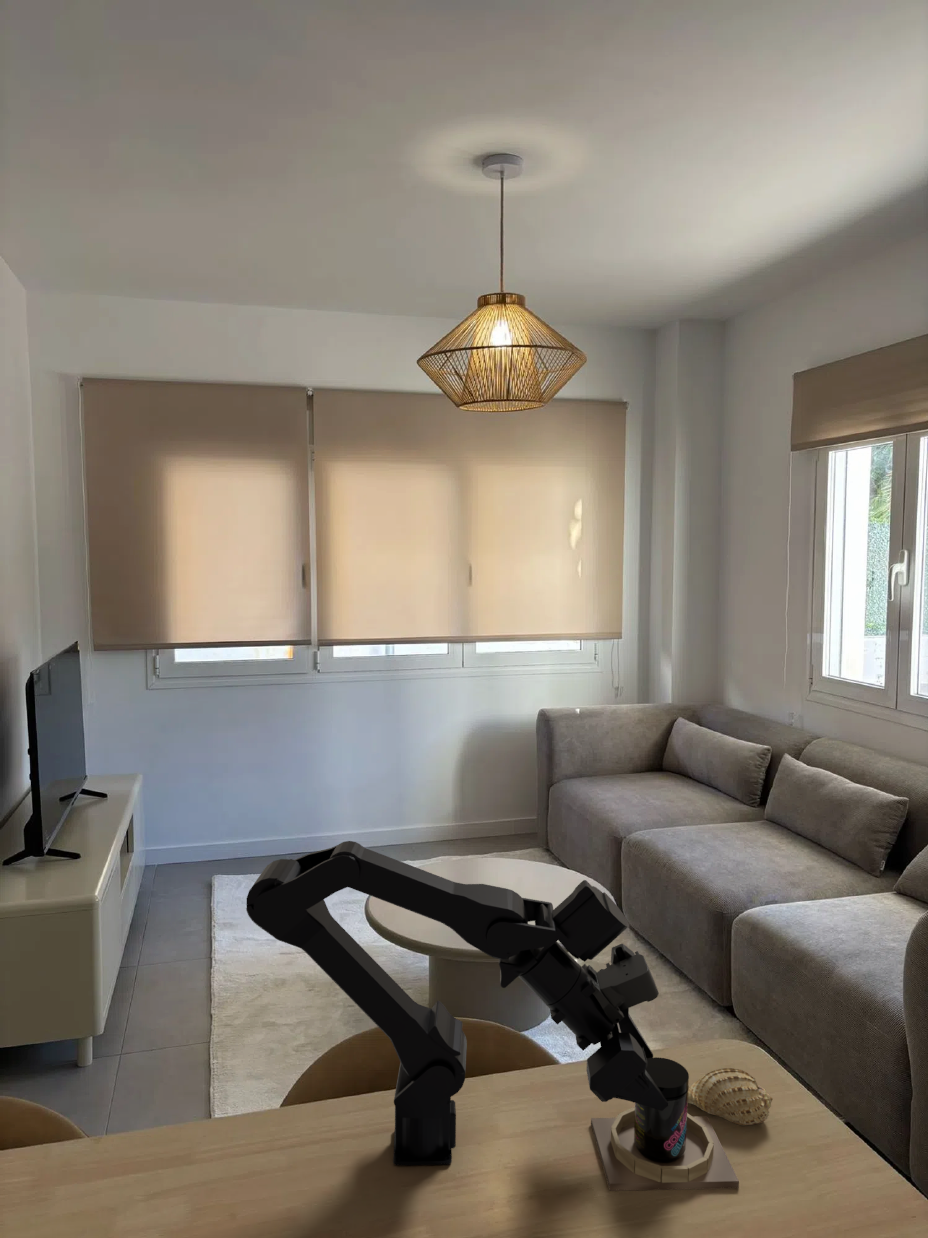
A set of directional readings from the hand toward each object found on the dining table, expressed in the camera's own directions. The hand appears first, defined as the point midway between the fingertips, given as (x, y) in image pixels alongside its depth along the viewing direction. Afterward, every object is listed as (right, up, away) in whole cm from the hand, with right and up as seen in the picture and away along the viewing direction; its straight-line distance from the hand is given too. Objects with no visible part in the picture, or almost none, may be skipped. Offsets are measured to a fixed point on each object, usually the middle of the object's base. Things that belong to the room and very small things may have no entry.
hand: (657, 1082), depth 102 cm
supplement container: (0, -8, +1) cm, 8 cm away
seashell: (+10, -8, +9) cm, 16 cm away
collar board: (+1, -9, +1) cm, 9 cm away
